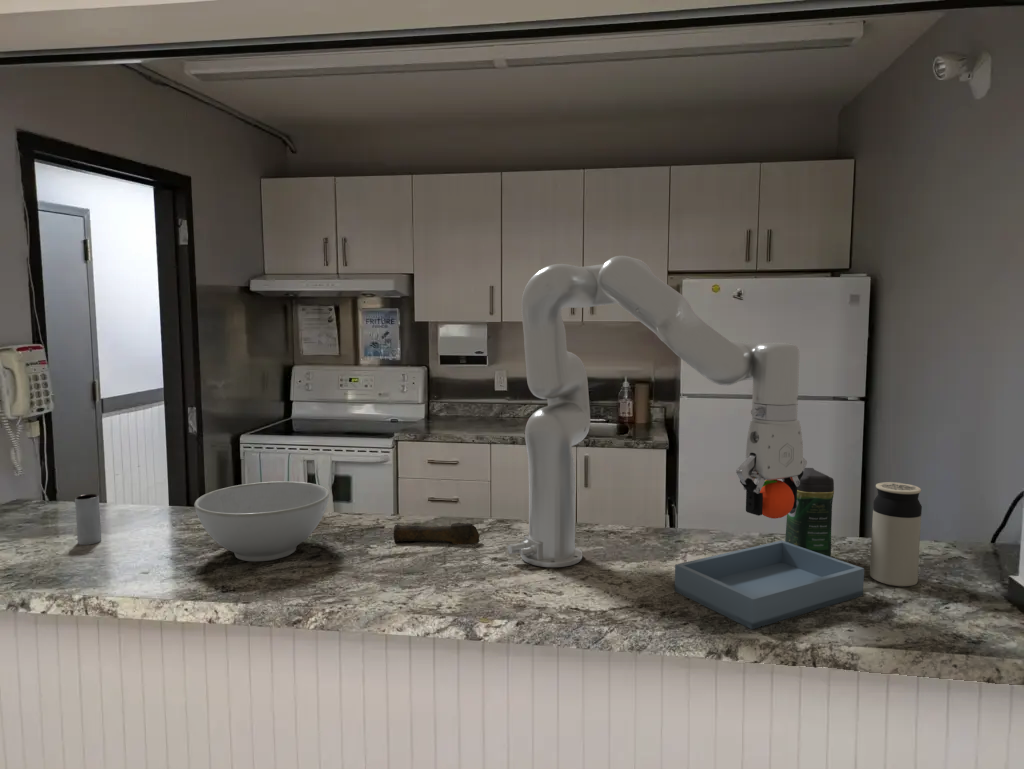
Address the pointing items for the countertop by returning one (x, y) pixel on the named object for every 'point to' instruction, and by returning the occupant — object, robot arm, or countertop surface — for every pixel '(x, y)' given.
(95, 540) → the gray cylinder
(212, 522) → the decorative bowl
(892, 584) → the travel mug
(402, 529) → the hand tool
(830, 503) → the coffee jar
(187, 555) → the countertop surface
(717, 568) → the bin
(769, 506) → the clementine
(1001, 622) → the countertop surface
